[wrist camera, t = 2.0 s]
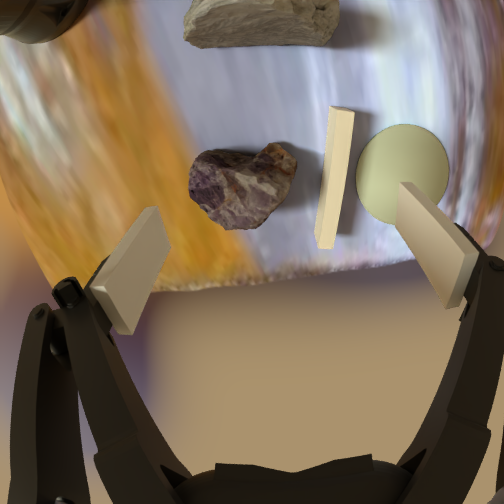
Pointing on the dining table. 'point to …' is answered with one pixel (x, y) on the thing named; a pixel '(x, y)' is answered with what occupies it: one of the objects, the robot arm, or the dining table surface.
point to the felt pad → (400, 168)
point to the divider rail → (333, 175)
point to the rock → (241, 185)
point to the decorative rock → (260, 22)
